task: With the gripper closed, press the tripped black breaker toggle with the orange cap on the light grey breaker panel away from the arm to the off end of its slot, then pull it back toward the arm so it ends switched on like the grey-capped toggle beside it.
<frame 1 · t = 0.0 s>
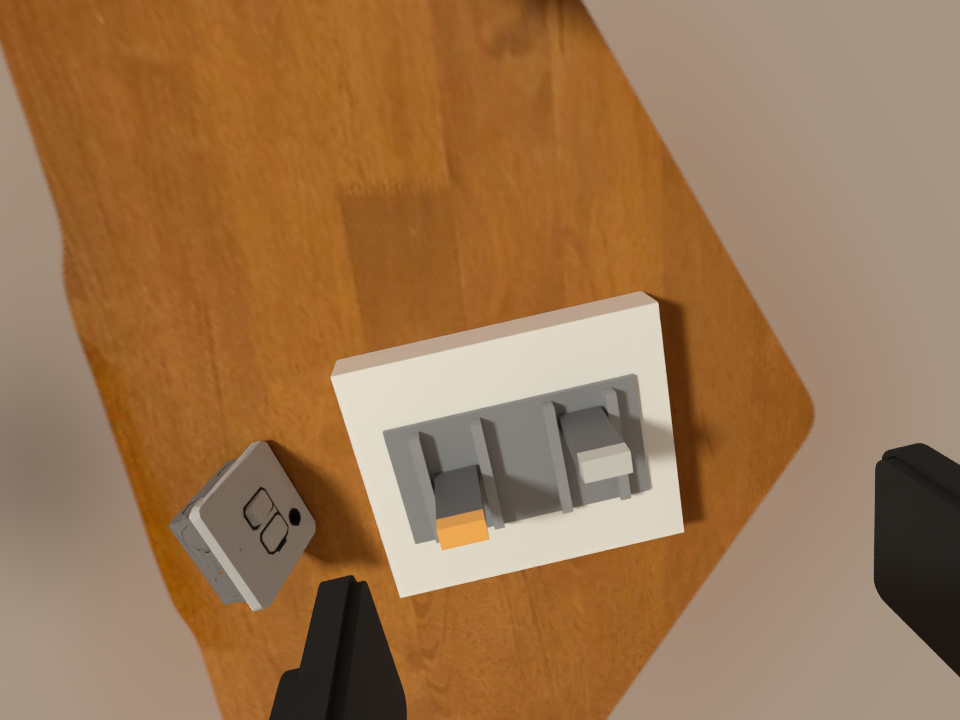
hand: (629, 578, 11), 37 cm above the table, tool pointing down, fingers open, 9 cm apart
tripped toggle: (460, 504, 44), point 8 cm above the table, slide at 0.0 cm
electrical switch: (265, 494, 51), on the table
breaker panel: (513, 439, 51), on the table
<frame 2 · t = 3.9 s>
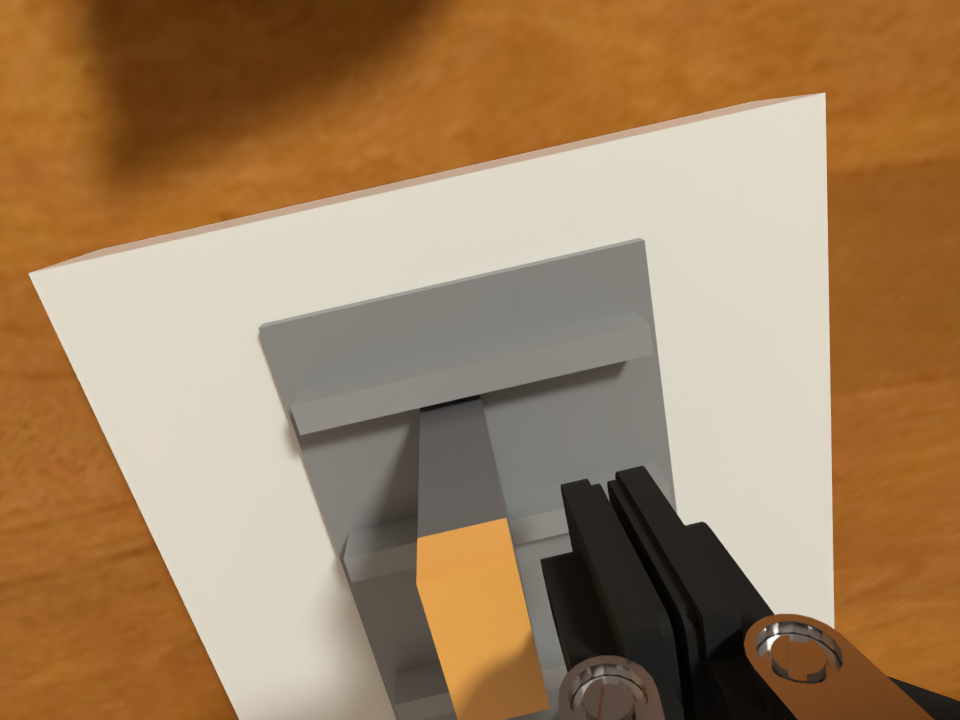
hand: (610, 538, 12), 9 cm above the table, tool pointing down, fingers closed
tripped toggle: (471, 524, 14), point 8 cm above the table, slide at 0.7 cm, touching gripper
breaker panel: (505, 509, 23), on the table
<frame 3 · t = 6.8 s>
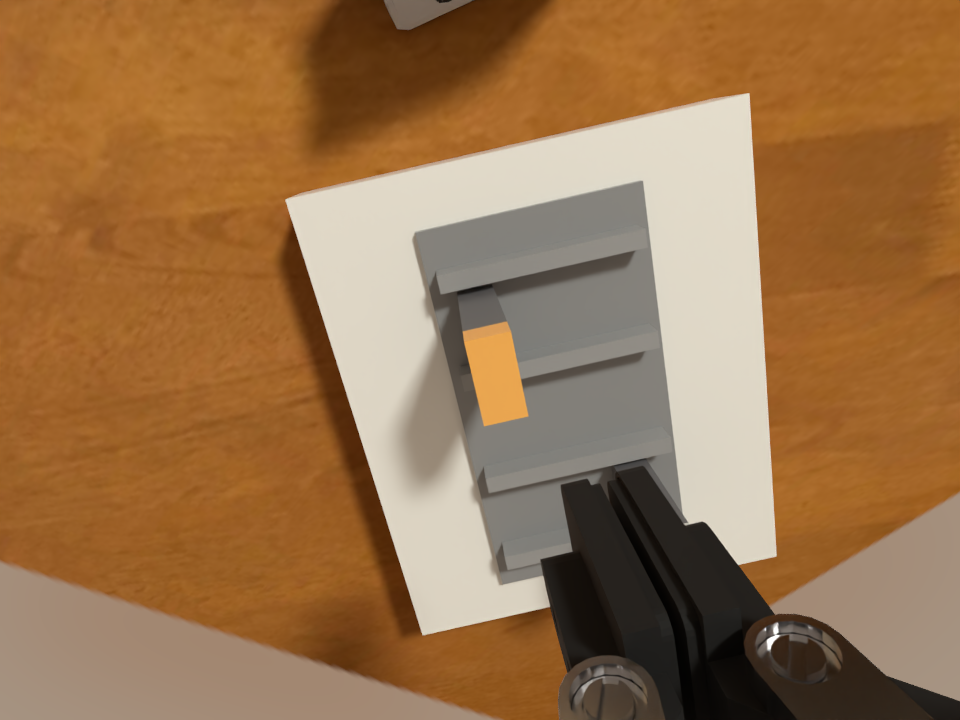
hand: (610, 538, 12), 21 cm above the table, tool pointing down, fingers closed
tripped toggle: (488, 347, 25), point 8 cm above the table, slide at 3.0 cm
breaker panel: (550, 375, 34), on the table
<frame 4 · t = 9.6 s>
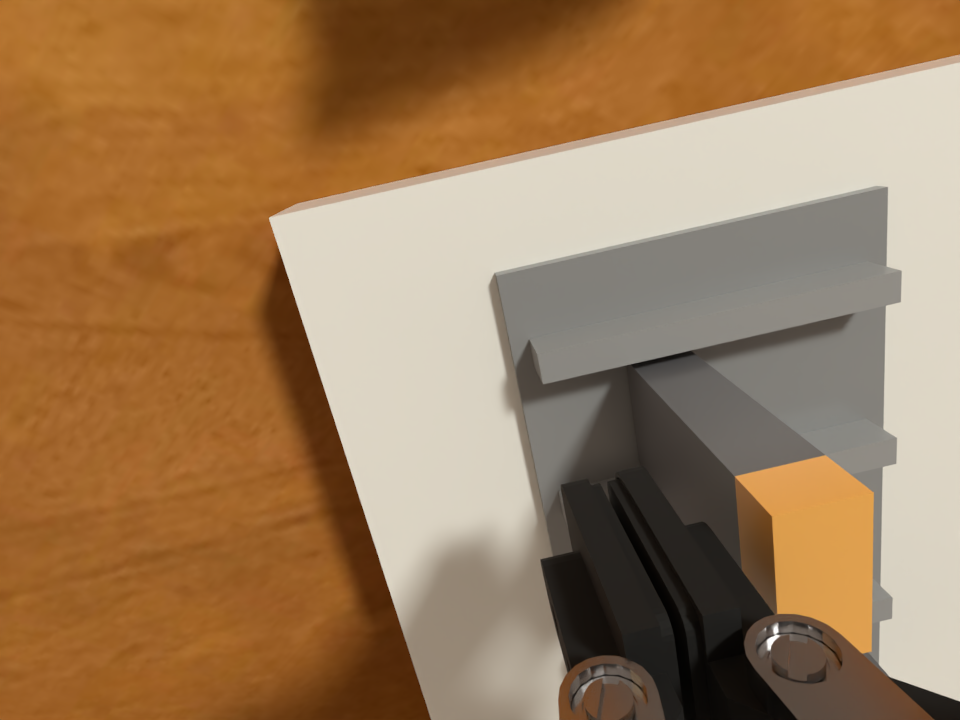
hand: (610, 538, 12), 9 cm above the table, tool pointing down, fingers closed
tripped toggle: (722, 474, 13), point 8 cm above the table, slide at 1.3 cm, touching gripper
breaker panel: (670, 476, 22), on the table
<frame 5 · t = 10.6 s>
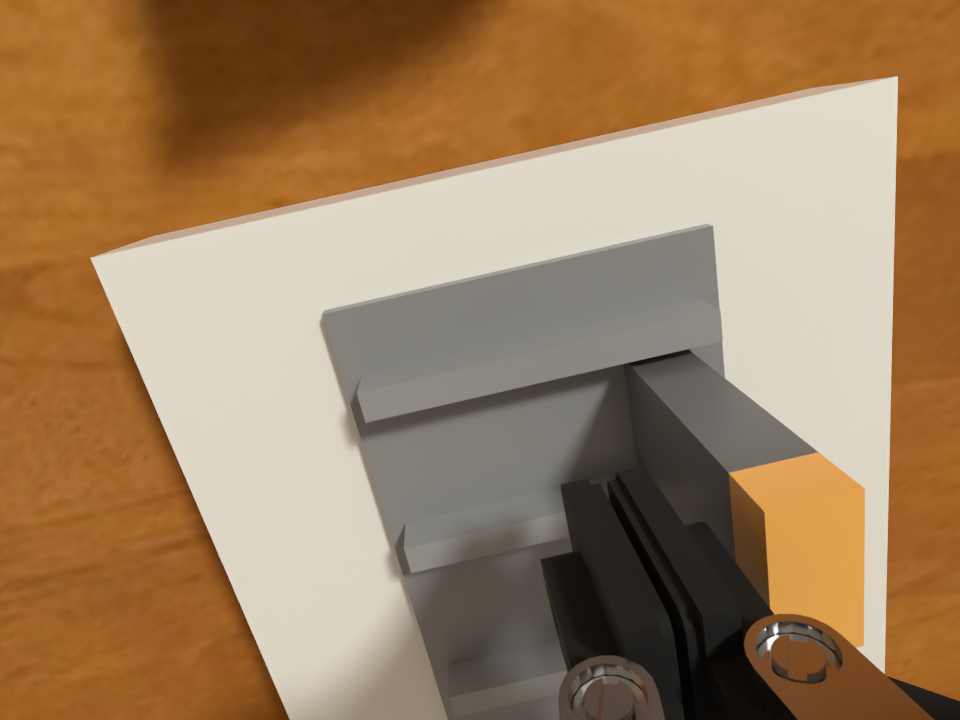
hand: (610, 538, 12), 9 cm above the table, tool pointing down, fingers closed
tripped toggle: (718, 472, 14), point 8 cm above the table, slide at -3.1 cm, touching gripper
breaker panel: (550, 502, 22), on the table
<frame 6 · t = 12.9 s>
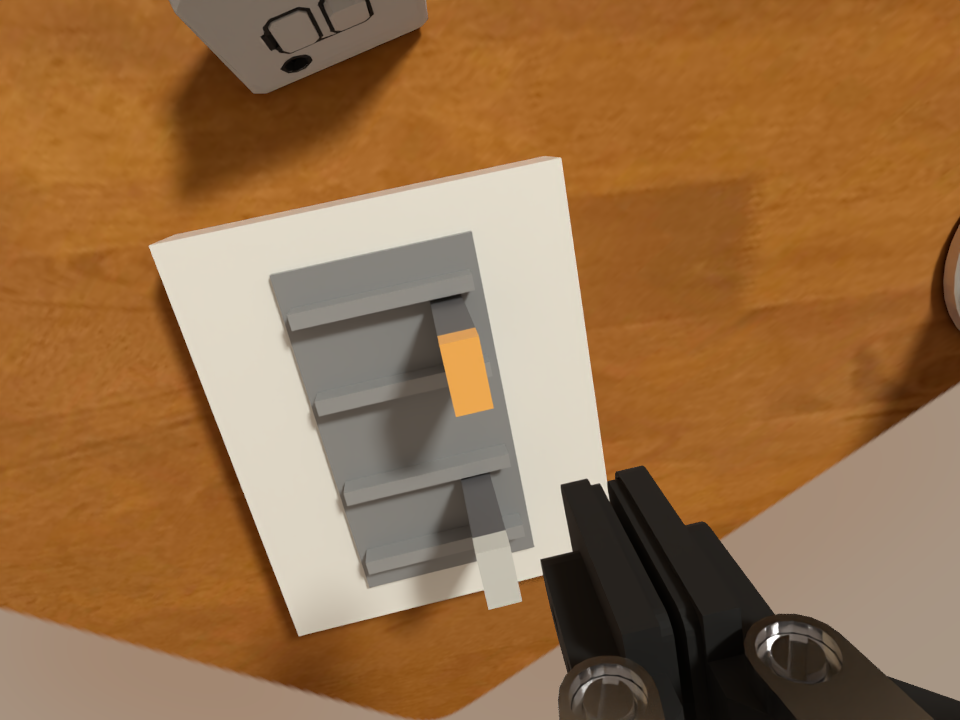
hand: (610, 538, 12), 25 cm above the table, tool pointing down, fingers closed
tripped toggle: (458, 349, 28), point 8 cm above the table, slide at -3.0 cm
electrical switch: (314, 6, 30), on the table
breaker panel: (413, 397, 37), on the table
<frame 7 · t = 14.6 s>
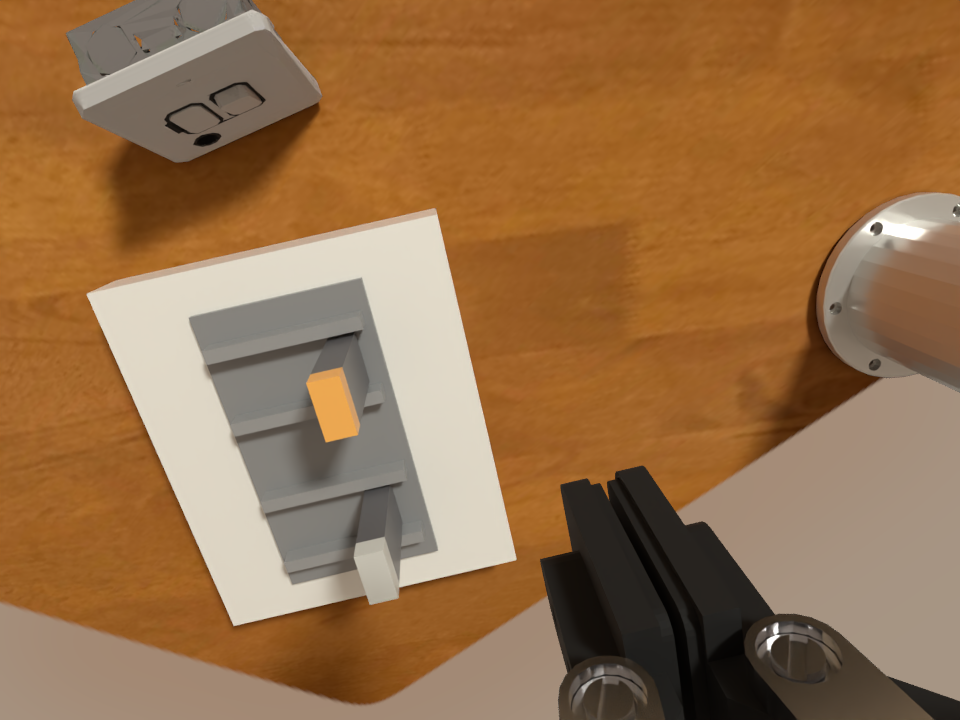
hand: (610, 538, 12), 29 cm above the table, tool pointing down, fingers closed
tripped toggle: (341, 382, 33), point 8 cm above the table, slide at -3.0 cm
electrical switch: (227, 87, 35), on the table
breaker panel: (332, 417, 42), on the table
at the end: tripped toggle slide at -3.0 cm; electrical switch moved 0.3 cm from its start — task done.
